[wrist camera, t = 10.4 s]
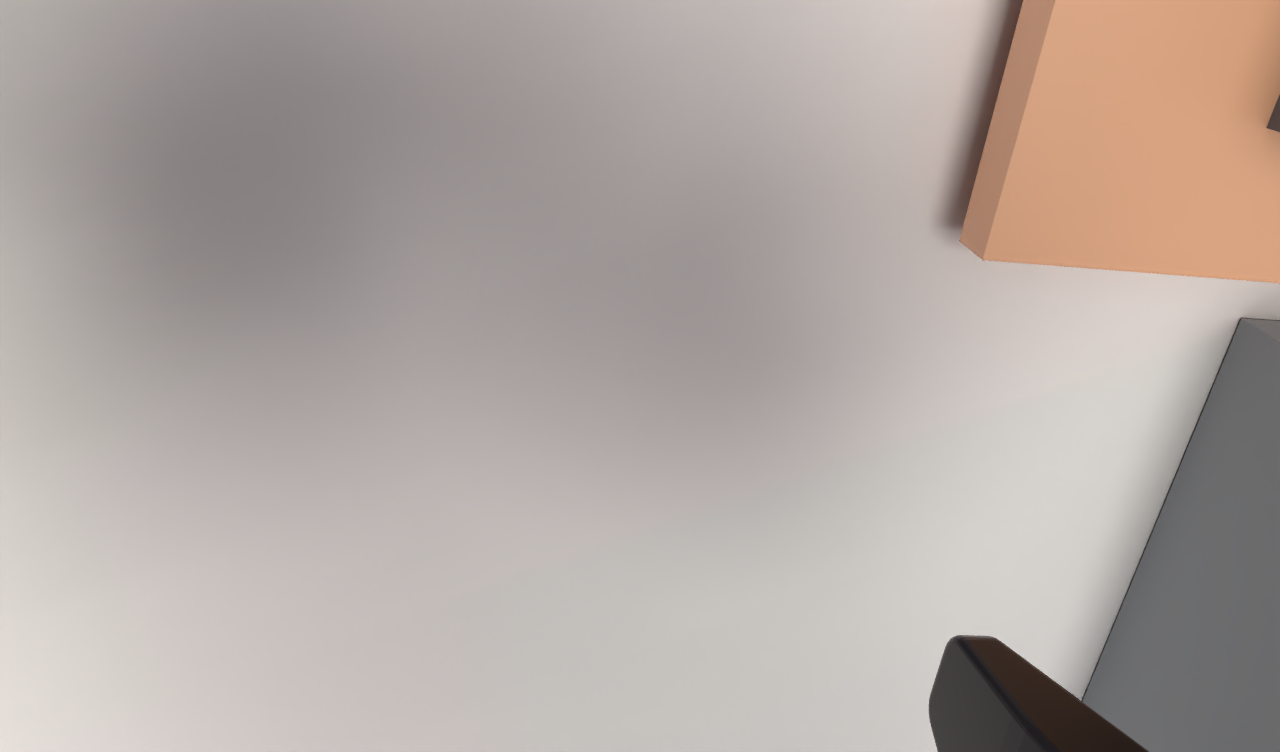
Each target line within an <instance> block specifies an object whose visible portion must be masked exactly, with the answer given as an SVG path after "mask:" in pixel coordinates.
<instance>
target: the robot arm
mask: <svg viewBox="0 0 1280 752" xmlns="http://www.w3.org/2000/svg"><path fill="white" fill-rule="evenodd" d="M929 718H930V723H931V727H932V731H933V735H934V739H935V743H936V746H937V750H938V752H1149V751H1148V750H1147V749H1145V748H1144V747H1142V746H1141V745H1140V744H1138V743H1137V742H1136V741H1134V740H1133V739H1132V738H1130V737H1129V736H1128V735H1126V734H1125V733H1124V732H1122V731H1121V730H1120V729H1118V728H1117V727H1115V726H1114V725H1113V724H1111V723H1110V722H1109V721H1107V720H1106V719H1105V718H1103V717H1102V716H1101V715H1099V714H1098V713H1097V712H1095V711H1094V710H1093V709H1091V708H1090V707H1088V706H1087V705H1086V704H1084V703H1083V702H1082V701H1080V700H1079V699H1078V698H1076V697H1075V696H1074V695H1072V694H1071V693H1070V692H1068V691H1067V690H1066V689H1064V688H1063V687H1062V686H1060V685H1059V684H1057V683H1056V682H1055V681H1053V680H1052V679H1051V678H1049V677H1048V676H1047V675H1045V674H1044V673H1043V672H1041V671H1040V670H1039V669H1037V668H1036V667H1035V666H1033V665H1032V664H1030V663H1029V662H1028V661H1026V660H1025V659H1024V658H1022V657H1021V656H1020V655H1018V654H1017V653H1016V652H1014V651H1013V650H1012V649H1010V648H1009V647H1008V646H1006V645H1005V644H1003V643H1002V642H1001V641H999V640H998V639H996V638H994V637H990V636H971V635H958V636H955V637H952V638H951V639H950V640H949V642H948V643H947V645H946V647H945V650H944V653H943V656H942V659H941V663H940V666H939V669H938V672H937V675H936V678H935V682H934V685H933V688H932V691H931V694H930V699H929Z"/></svg>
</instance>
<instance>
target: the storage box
mask: <svg viewBox="0 0 1280 752" xmlns="http://www.w3.org/2000/svg"><path fill="white" fill-rule="evenodd" d="M1082 702H1083V703H1084V704H1086V705H1087V706H1088V707H1090V708H1091V709H1093V710H1094V711H1095V712H1097V713H1098V714H1099V715H1101V716H1102V717H1103V718H1105V719H1106V720H1107V721H1109V722H1110V723H1111V724H1113V725H1114V726H1115V727H1117V728H1118V729H1120V730H1121V731H1122V732H1124V733H1125V734H1126V735H1128V736H1129V737H1130V738H1132V739H1133V740H1134V741H1136V742H1137V743H1138V744H1140V745H1141V746H1142V747H1144V748H1145V749H1147V750H1148V751H1149V752H1280V321H1274V320H1259V319H1245V318H1241V320H1240V323H1239V325H1238V327H1237V330H1236V332H1235V335H1234V337H1233V339H1232V342H1231V344H1230V347H1229V349H1228V352H1227V354H1226V356H1225V359H1224V361H1223V364H1222V366H1221V368H1220V371H1219V373H1218V376H1217V378H1216V380H1215V383H1214V385H1213V388H1212V390H1211V392H1210V395H1209V397H1208V400H1207V402H1206V405H1205V407H1204V409H1203V412H1202V414H1201V417H1200V419H1199V421H1198V424H1197V426H1196V429H1195V431H1194V433H1193V436H1192V438H1191V441H1190V443H1189V445H1188V448H1187V450H1186V453H1185V455H1184V457H1183V460H1182V462H1181V465H1180V467H1179V470H1178V472H1177V474H1176V477H1175V479H1174V482H1173V484H1172V486H1171V489H1170V491H1169V494H1168V496H1167V498H1166V501H1165V503H1164V506H1163V508H1162V510H1161V513H1160V515H1159V518H1158V520H1157V522H1156V525H1155V527H1154V530H1153V532H1152V535H1151V537H1150V539H1149V542H1148V544H1147V547H1146V549H1145V551H1144V554H1143V556H1142V559H1141V561H1140V563H1139V566H1138V568H1137V571H1136V573H1135V575H1134V578H1133V580H1132V583H1131V585H1130V587H1129V590H1128V592H1127V595H1126V597H1125V600H1124V602H1123V604H1122V607H1121V609H1120V612H1119V614H1118V616H1117V619H1116V621H1115V624H1114V626H1113V628H1112V631H1111V633H1110V636H1109V638H1108V640H1107V643H1106V645H1105V648H1104V650H1103V652H1102V655H1101V657H1100V660H1099V662H1098V665H1097V667H1096V669H1095V672H1094V674H1093V677H1092V679H1091V681H1090V684H1089V686H1088V689H1087V691H1086V693H1085V696H1084V698H1083V701H1082Z"/></svg>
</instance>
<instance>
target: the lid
mask: <svg viewBox="0 0 1280 752" xmlns="http://www.w3.org/2000/svg"><path fill="white" fill-rule="evenodd" d="M959 241H960V242H961V243H963V244H964V245H965V246H966V247H968V248H969V249H970V250H971V251H972V252H974V253H975V254H976V255H977V256H978V257H980V258H981V259H982V260H989V261H1002V262H1015V263H1028V264H1041V265H1054V266H1067V267H1080V268H1092V269H1105V270H1118V271H1131V272H1144V273H1157V274H1170V275H1182V276H1195V277H1208V278H1221V279H1234V280H1247V281H1260V282H1273V283H1280V0H1023V3H1022V7H1021V11H1020V14H1019V18H1018V22H1017V26H1016V29H1015V33H1014V37H1013V41H1012V44H1011V48H1010V52H1009V56H1008V59H1007V63H1006V67H1005V71H1004V74H1003V78H1002V82H1001V86H1000V89H999V93H998V97H997V101H996V104H995V108H994V112H993V116H992V119H991V123H990V127H989V131H988V134H987V138H986V142H985V146H984V149H983V153H982V157H981V161H980V165H979V168H978V172H977V176H976V180H975V183H974V187H973V191H972V195H971V198H970V202H969V206H968V210H967V213H966V217H965V221H964V225H963V228H962V232H961V236H960V240H959Z"/></svg>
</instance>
